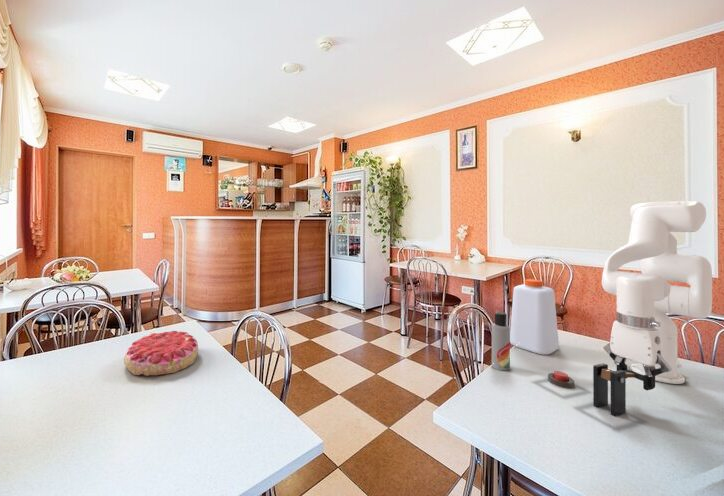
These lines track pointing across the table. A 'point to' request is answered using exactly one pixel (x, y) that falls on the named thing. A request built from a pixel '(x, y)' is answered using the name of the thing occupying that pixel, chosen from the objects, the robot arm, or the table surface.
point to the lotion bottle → (501, 342)
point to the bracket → (616, 390)
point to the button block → (561, 383)
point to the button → (560, 376)
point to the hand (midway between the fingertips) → (635, 383)
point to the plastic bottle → (534, 318)
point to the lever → (629, 374)
